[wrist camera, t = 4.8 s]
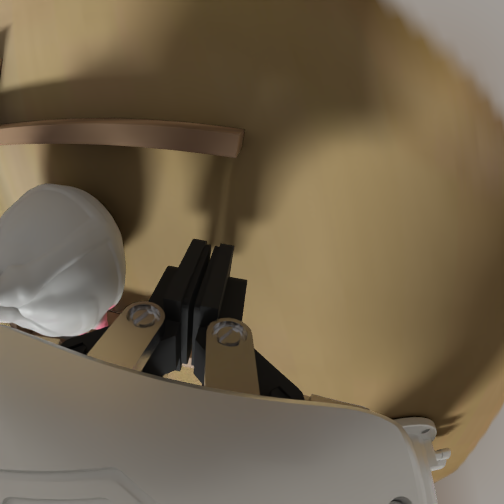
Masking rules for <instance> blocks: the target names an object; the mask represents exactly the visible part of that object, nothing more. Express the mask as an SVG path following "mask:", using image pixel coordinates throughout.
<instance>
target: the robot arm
mask: <svg viewBox="0 0 504 504" xmlns="http://www.w3.org/2000/svg"><path fill="white" fill-rule="evenodd" d="M233 251H234V246H232V245H227V244H220V247H218V246H215V247H214V250H213V253H212V256H211V258H210V254H211V245H207V241H204V240H198V239H193V240H192V242H191V244H190V246H189V248H188V250H187V252H186V254H185V256H184V258H183V260H182V261H181V263H180V265H179V267H173V266H168V267H167V268H166V270H165V272H164V274H163V276H162V277H161V279H160V281H159V283H158V285H157V287H156V288H155V290H154V292H153V294H152V296H151V298H150V300H149V301H148V302H147V301H140V302H135V303H133V304H131V305H129V306H127V307H126V308H125V309H124V310H123V312H122V313H121V314H120V315H119V316H118V317H117V319H116V320H115V321H114V322H113V323H112V325H110V326H107V327H104V328H101V329H98V330H95V331H92V332H88V333H85V334H82V335H79V336H76V337H73V338H70V339H68V340H66V341H64V342H63V343H61V340H60V339H55V338H48V337H42V336H36V335H31V334H29V333H26V332H23V331H21V330H18V329H15V328H12V327H8V326H5V325H0V504H438V503H437V497H436V493H435V487H434V483H433V478H432V474H431V471H434V470H438V469H441V468H443V467H444V466H445V464H446V459H448V458H449V457H450V455H451V450H450V449H449V448H444V449H440V450H437V451H434V448H433V445H432V441H433V440H434V439H435V437H436V434H437V431H436V427H435V424H434V422H433V421H431V420H430V419H427V418H423V417H409V418H400V419H395V420H392V419H390V418H388V417H386V416H384V415H382V414H379V413H376V412H373V411H370V410H369V409H368V408H365V407H363V406H359V405H354V404H350V403H346V402H341V401H337V400H333V399H329V398H325V397H321V396H318V395H314V394H312V395H311V396H310V397H309V396H306V395H303V393H302V392H301V391H300V390H299V388H298V387H296V386H295V385H294V384H293V383H292V382H291V381H290V380H288V379H287V378H286V377H285V376H284V375H283V374H282V373H281V372H279V371H278V370H277V369H276V368H275V367H274V366H273V365H272V364H271V363H269V362H268V361H267V360H266V359H265V358H264V357H263V356H262V355H261V354H260V353H259V352H257V351H256V350H255V349H254V344H253V336H252V332H251V330H250V328H249V327H248V326H247V325H246V324H245V323H243V322H242V316H243V308H244V301H245V293H246V286H247V280H244V279H238V278H233V277H230V270H231V264H232V257H233ZM191 350H192V360H191V365H192V366H194V375H195V376H196V377H197V378H198V379H199V380H200V382H201V383H202V386H200V385H195V384H190V383H186V382H181V381H177V380H172V379H168V378H167V377H168V373H170V372H172V371H174V370H176V371H180V370H181V367H182V363H183V364H188V361H189V357H190V354H191Z"/></svg>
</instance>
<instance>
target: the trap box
mask: <svg viewBox="0 0 504 504" xmlns="http://www.w3.org/2000/svg"><path fill="white" fill-rule="evenodd" d="M1 64H2V59H0V72H1ZM244 130H245V129H238V128H231V127H224V126H216V125H207V124H198V123H188V122H176V121H163V120H146V119H116V118H86V119H58V120H42V121H30V122H19V123H10V124H2V125H0V145H12V144H98V145H118V146H133V147H146V148H158V149H168V150H178V151H187V152H195V153H203V154H211V155H218V156H225V157H232V158H236V157H237V155H238V154H239V152H240V150H241V149H242V143H243V136H244ZM119 315H120V314H117V313H114V312H110V311H107V321H108V326H110V325H112V323H113V322H114V321H115V320H116V319H117V317H118V316H119ZM10 325H11V327H12V328H15V329H18V330H21V331H23V332H26V333H29V334H31V335H36V336H42V337H48V338H55V339H60V340H61V343H63V342H64V341H66V340H68V339H70V338H73V337H76V336H60V337H49V336H45V335H42V334H40V333H38V332H35V331H33V330H31V329H27V328H23V327H21V326H19V325H17V324H14V323H10ZM95 330H97V329H91V330H90V331H88V332H92V331H95ZM88 332H87V333H88ZM77 336H79V335H77ZM191 360H192V350H191V354H190V357H189V361H188V364H183V363H182V366H186V367H190V368H194V366H192V365H191Z"/></svg>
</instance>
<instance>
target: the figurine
mask: <svg viewBox="0 0 504 504" xmlns="http://www.w3.org/2000/svg"><path fill="white" fill-rule="evenodd" d="M125 274H126V262H125V254H124V247H123V241H122V236H121V233H120V230H119V228H118V226H117V225H116V223H115V221H114V219H113V217H112V216H111V214H110V213H109V212H108V210H107V209H106V208H105V207H104V206H103V205H102V204H101V203H100V202H99V201H98V200H97V199H96V198H95V197H93V196H92V195H90V194H89V193H87V192H85V191H83V190H81V189H78V188H75V187H71V186H64V185H57V184H41V185H38V186H36V187H34V188H32V189H31V190H29V191H27V192H26V193H25V194H24V195H22V196H21V197H20V198H19V200H17V201H16V202H15V203H14V204H13V205H12V206H11V207H9V208H8V209H7V210H6V211H5V212H4V214H3V215H2V216H1V218H0V322H4V323H14V324H17V325H19V326H21V327H23V328H27V329H31V330H33V331H35V332H38V333H40V334H42V335H45V336H49V337H60V336H77V335H82V334H85V333H87V332H88V331H90V330H91V329H97V330H98V329H101V328H104V327H107V326H108V321H107V311H108V310H109V309H111V308H113V307H114V306H115V305H116V304H117V303H118V302H119V300H120V299H121V297H122V294H123V290H124V285H125Z"/></svg>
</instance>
